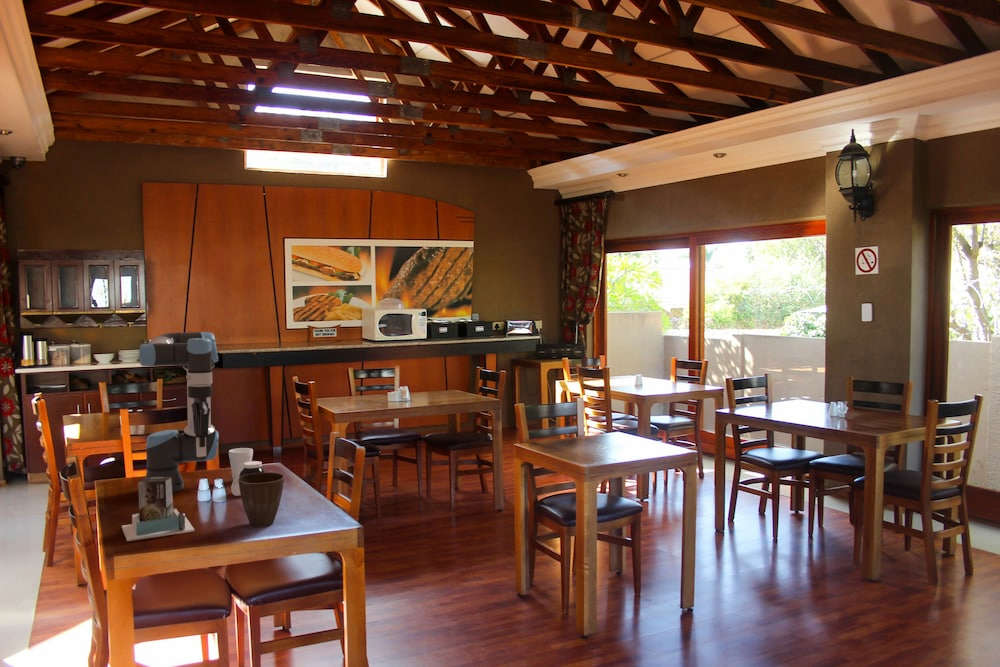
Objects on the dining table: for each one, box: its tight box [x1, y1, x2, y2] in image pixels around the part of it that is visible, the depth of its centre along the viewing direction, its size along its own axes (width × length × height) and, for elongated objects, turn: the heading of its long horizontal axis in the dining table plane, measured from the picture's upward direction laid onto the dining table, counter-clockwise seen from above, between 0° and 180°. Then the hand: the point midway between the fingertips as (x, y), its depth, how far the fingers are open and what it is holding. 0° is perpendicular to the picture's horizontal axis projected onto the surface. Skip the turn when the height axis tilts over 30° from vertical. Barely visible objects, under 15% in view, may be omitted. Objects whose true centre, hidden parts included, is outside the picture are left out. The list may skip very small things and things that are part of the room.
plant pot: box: [238, 472, 285, 528], centre depth 260 cm, size 15×15×16 cm
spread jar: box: [230, 460, 267, 497], centre depth 301 cm, size 12×11×12 cm
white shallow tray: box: [121, 508, 195, 542], centre depth 254 cm, size 17×20×4 cm
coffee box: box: [137, 477, 174, 522], centre depth 255 cm, size 9×6×16 cm
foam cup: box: [228, 447, 254, 482], centre depth 320 cm, size 10×9×13 cm
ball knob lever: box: [136, 512, 186, 536], centre depth 247 cm, size 15×2×5 cm, turn 127°
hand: (201, 456), depth 254 cm, fingers closed
